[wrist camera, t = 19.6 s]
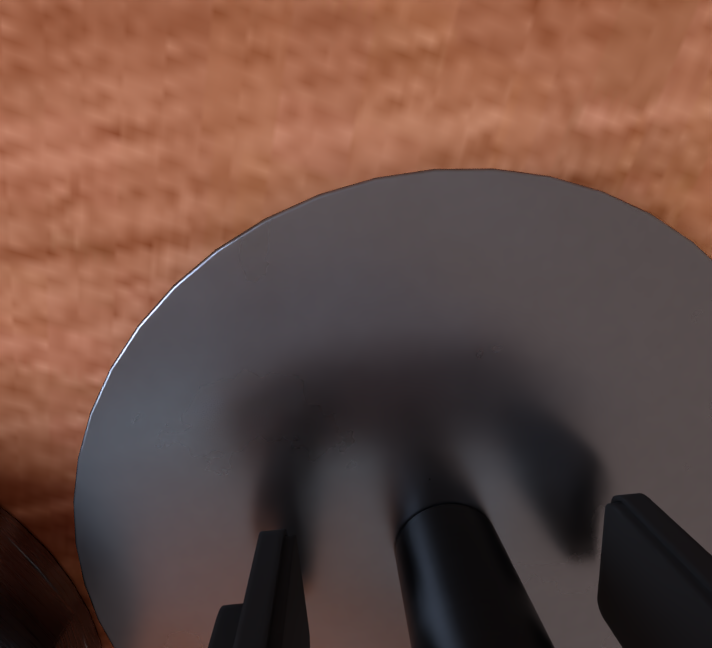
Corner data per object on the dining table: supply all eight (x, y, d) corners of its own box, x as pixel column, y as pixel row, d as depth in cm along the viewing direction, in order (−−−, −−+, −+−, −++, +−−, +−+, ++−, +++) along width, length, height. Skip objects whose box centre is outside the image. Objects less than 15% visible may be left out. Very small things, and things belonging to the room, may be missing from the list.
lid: (171, 771, 13) (36, 1242, 7) (16, 206, 9) (-668, 201, 3) (703, 709, 14) (994, 1103, 8) (807, 143, 9) (1679, 24, 3)
